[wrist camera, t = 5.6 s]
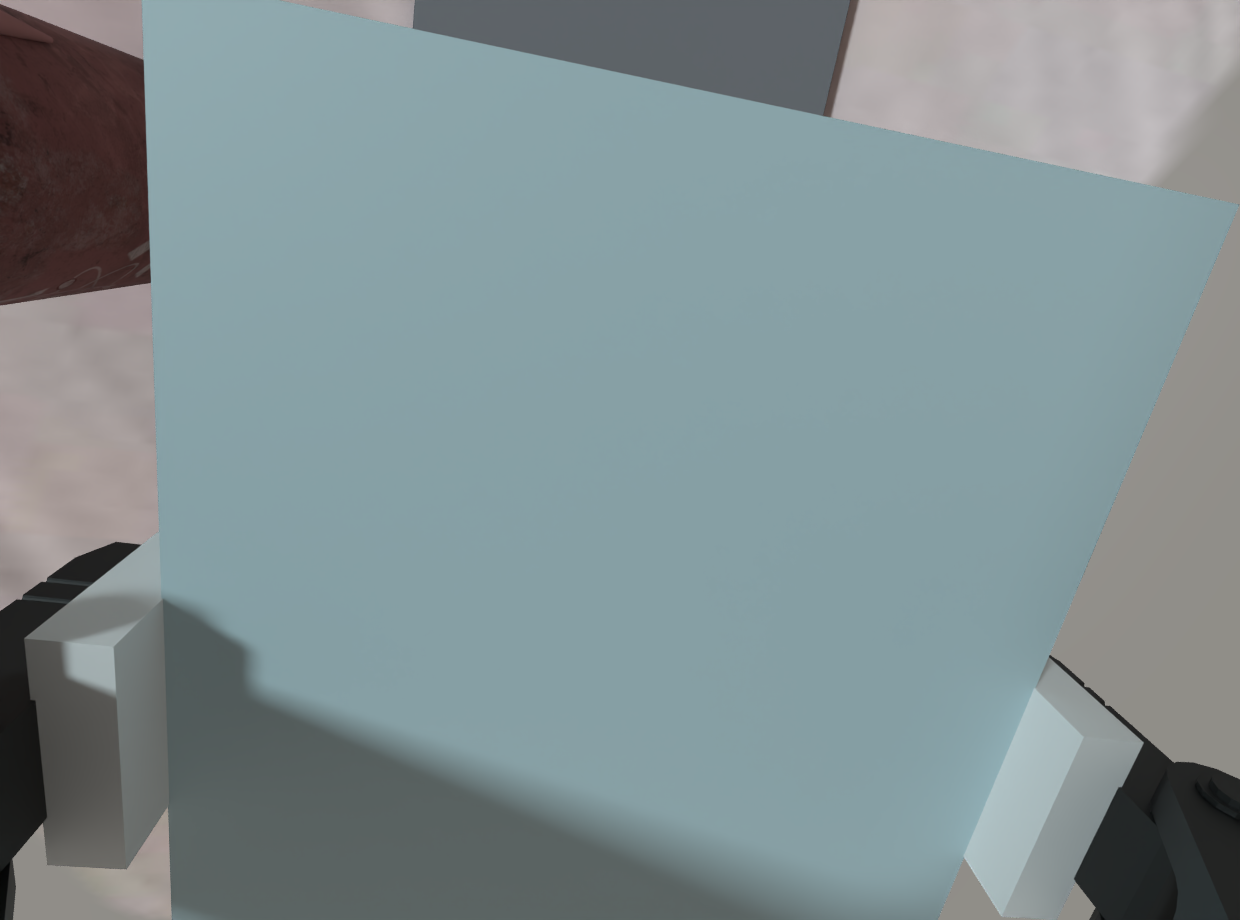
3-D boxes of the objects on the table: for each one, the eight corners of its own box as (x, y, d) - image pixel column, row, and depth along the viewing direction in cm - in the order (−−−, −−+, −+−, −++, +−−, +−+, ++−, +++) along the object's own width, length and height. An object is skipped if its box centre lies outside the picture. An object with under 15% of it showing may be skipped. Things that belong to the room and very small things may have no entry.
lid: (341, 88, 11) (140, -30, 6) (947, 208, 12) (1239, 205, 7) (308, 810, 15) (178, 1122, 10) (757, 839, 16) (850, 1128, 11)
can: (328, 162, 24) (51, 92, 11) (227, 307, 25) (-130, 400, 12) (163, 28, 23) (-393, -243, 9) (64, 189, 24) (-551, 150, 11)
